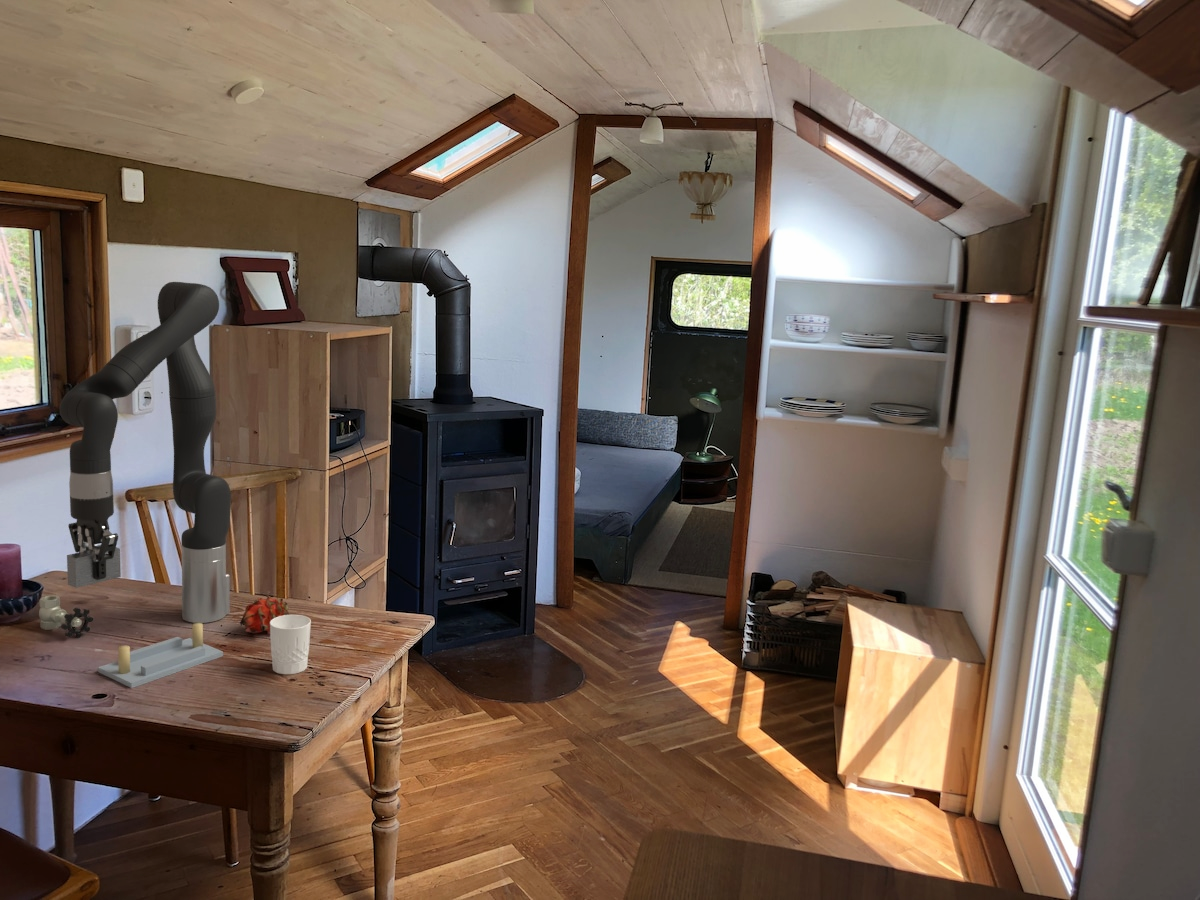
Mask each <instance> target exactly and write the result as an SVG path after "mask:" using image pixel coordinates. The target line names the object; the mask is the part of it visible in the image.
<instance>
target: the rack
mask: <svg viewBox="0 0 1200 900" xmlns="http://www.w3.org/2000/svg"><path fill="white" fill-rule="evenodd" d="M191 625H192V627H191V629H192V630H191V631H192V632H191V633H192V638H191V637H187V638H186V639H183V638H182V637H180V636H175V637H172V638H169V639H165V640H162V641H159V642H156V643H154V644H151V645H147V646H144V647H141V648H137V649H134V650H131V647H130V646H129V645H120V646H119V647H117V659H118V660H117V661H114V662H110V663H106V664H104V665H101V666H98V667H97V671H98V673H99V674H101V675H103V676H105V677H107V678H110V679H112V680H114V681H116V682H118V683H120V684H122V685H124V686H127V687H129V688H131V689H134V688H136V687H139V686H142V685H145V684H147V683H151V682H153V681H156V680H159V679H162V678H164V677H168V676H170V675H174V674H175V673H179V672H183V671H184V670H187V669H191V668H193V667H196V666H198V665H201V664H204V663H207V662H210V661H213V660H216V659H219V658H221V657H223V656H224V651H222V650H220V649H218V648H215V647H213V646H211V645H209V644H205V643H204V631H203V630H204V626H203V625H204V624H203V623H193V624H191Z"/></svg>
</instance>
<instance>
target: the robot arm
mask: <svg viewBox="0 0 1200 900" xmlns="http://www.w3.org/2000/svg"><path fill="white" fill-rule="evenodd" d="M219 310H220V300H219V296H218V295H217V293H216V292H215V290H214V289H212V288H211V287H210V286H208V285H205V284H202V283H196V282H195V283H194V282H193V283H192V282H183V281H169V282H167V283H166V284H164V285H163V286H162V287H161V289H160V290H159V293H158V296H157V313H158V319H159V325H158V326H157V327H155V328H154V329H152V330H151V331H148V332H146V333H145V334H143V335H142V336H139V337H138V338H136V339H134V340H132V341H131V342H129V343H127V344H126V345H125V346H124V347H122V348H121V349H120V350H119V351H118V352H117V353H116V354H115V355H113V357H111V358H110V360H108V362H107V363H105V365H104V366H103V367H102V368H101V369H100V370H99V371H98V372H96V373H94V374H92V375H90V376H89V377H87V378H86V379H84V380H82V381H81V382H80V383H78V384H77V385H75V386H74V387H72V388H71V389H69V390H68V392H67V393H66V394H65V395H64V396H63V398H62V399H61V402H60V405H59V415H60V416H61V419H62V420H63V421H64V422H65V423H66V424H69V425H71V426H73V427H79V428H83V431H82V432H83V433H82V436H81V439H78V440H75V441H73V442H72V443H71V445H70V447H69V468H70V469H69V470H70V471H69V472H70V474H69V483H68V484H69V506H70V507H69V508H70V510H69V511H70V517H71V518H73V519H75V520H76V522H73V523H71V522H70V523H68V530H69V534H70V538H71V541H72V545H73V548H74V551H75V553H79V552H84V551H89V550H90V551H92V557H93V561H94V562H93V574H94V579H96V580H100V579H104V578H105V577H106V560H108V559H112V558H113V556H114V552H115V548H116V547H117V545H118V540H119V535H118V533H116V532H115V533H112V532H111V531H110V526H109V522H108V521H109V518H110V517H112V516H113V515H114V513H115V510H114V509H115V508H114V505H115V504H114V480H113V479H114V478H113V474H112V463H111V462H112V457H111V449H112V445H113V441H114V437H115V434H116V429H117V425H118V420H119V419H118V418H119V414H118V413H119V412H118V409H117V405H116V403H115V401H114V400H115V399H119V398H121V399H122V398H126V397H128V396H129V395H130V394H131V395H132V393H133V392H134V391H135V390H136V389H137V388H138V387H139V385H140V384H142V383H143V381H144V380H145V379H146V378H148V376H150V374H151V373H152V372H153V371H154V370H155V368H157V367H158V366H159V365H160V364H161V363H162V362H164V360H166V369H167V377H168V378H167V379H168V396H169V407H170V408H169V409H170V416H171V427H172V443H173V446H172V447H173V471H172V472H173V473H172V474H173V477H172V493H173V499H174V502H175V504H176V505H177V507H178V508H179V509H180V510H182V511H185V512H187V513H191V514H194V521H193V527H190V528H187V529H185V530H184V531H183V532H182V533H181V536H180V537H181V542H180V543H181V617H182V620H184V621H185V622H189V623H193V624H194V623H202V624H203V623H204V624H205V623H206V624H207V623H213V622H216V621H219V620H221V619H223V618H225V617H226V615H230V613H231V612H230V609H231V608H230V606H231V605H230V604H231V603H230V599H231V598H230V596H231V595H230V588H231V587H230V585H231V584H230V581H231V577H230V574H229V573H227V569H226V568H227V561H226V560H227V558H226V557H227V555H226V554H227V551H226V550H227V549H226V547H227V543H226V542H227V541H226V540H227V536H228V533H229V529H230V526H231V525H230V524H231V506H232V495H231V494H232V492H231V488H230V485H229V483H228V482H227V481H226V480H225V479H224V478H223V477H221V476H216V475H212V474H209V473H207V472H206V466H205V447H206V443H207V440H208V438H209V435H210V433H211V432H212V429H213V427H214V424H215V423H216V417H217V400H216V399H217V397H216V390H215V384H214V381H213V379H212V376H211V374H210V372H209V370H208V368H207V366H206V365H205V364H204V362H203V360H202V358H201V356H200V353H199V352H198V349H197V346H196V342H195V341H196V340H195V336H196V335H198V333H201V331H203V330H204V329H205V328H206V327H208V326H209V325H210V324H212V323H213V321H214V320H215V319H216V317H217V316H218V314H219ZM98 550H100V551H99V555H98V552H97V551H98ZM107 551H108V552H107Z"/></svg>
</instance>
